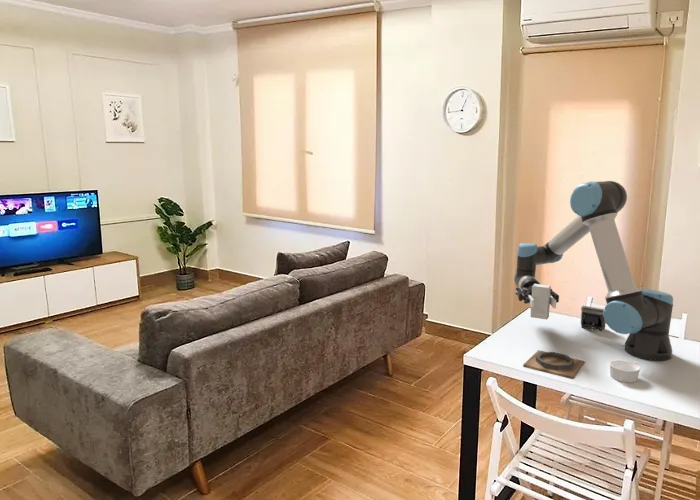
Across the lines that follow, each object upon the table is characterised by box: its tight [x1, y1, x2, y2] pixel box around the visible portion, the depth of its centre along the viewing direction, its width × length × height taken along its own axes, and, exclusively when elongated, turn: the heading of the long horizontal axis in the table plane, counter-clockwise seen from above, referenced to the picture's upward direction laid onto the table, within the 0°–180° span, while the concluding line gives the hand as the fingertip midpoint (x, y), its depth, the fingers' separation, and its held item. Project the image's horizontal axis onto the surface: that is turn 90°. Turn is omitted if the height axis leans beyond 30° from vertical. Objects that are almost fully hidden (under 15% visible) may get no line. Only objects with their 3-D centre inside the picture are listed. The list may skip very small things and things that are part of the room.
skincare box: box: [530, 283, 552, 320], centre depth 197 cm, size 6×4×12 cm
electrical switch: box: [580, 305, 607, 332], centre depth 218 cm, size 9×5×9 cm, turn 57°
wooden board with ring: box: [523, 349, 586, 379], centre depth 184 cm, size 16×16×2 cm
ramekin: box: [609, 359, 641, 384], centre depth 174 cm, size 9×9×4 cm
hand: (543, 304), depth 192 cm, fingers closed on skincare box, 7 cm apart
